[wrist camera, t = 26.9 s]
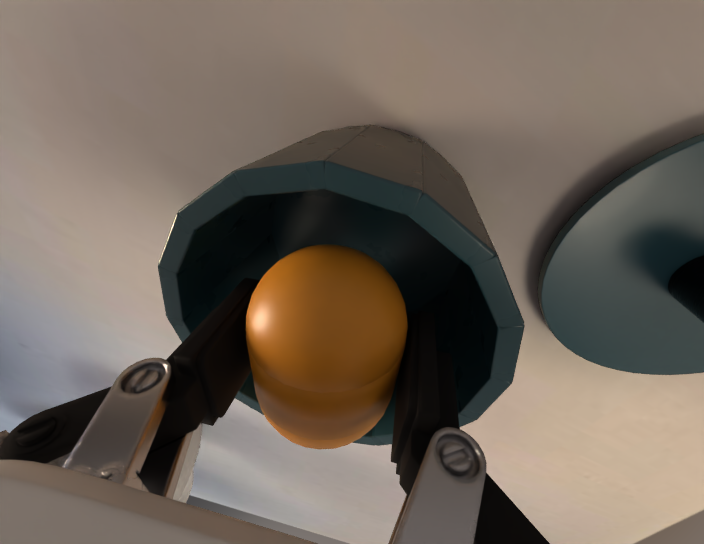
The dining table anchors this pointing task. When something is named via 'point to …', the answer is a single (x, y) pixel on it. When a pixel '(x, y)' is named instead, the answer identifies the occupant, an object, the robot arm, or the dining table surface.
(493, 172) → the dining table surface
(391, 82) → the dining table surface
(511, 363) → the pot
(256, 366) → the orange ribbed oval piece
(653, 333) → the lid
